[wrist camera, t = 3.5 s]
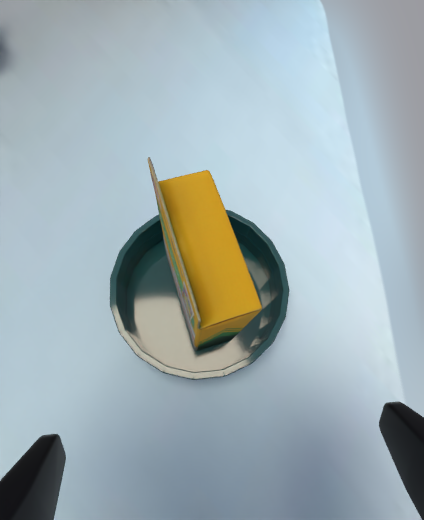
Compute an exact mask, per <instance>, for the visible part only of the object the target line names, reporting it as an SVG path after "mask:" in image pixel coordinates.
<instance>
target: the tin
mask: <svg viewBox="0 0 424 520" xmlns="http://www.w3.org/2000/svg"><path fill="white" fill-rule="evenodd" d="M225 211H226V213H227V216H228V218H229V221H230V224H231V226H232V229H233V232H234V234H235V237H236V239H237V242H238V245H239V247H240V250H241V253H242V255H243V258H244V260H245V263H246V266H247V268H248V271H249V274H250V276H251V279H252V281H253V284H254V287H255V289H256V292H257V295H258V298H259V300H260V303H261V306H262V310H261V311H260V312H259V313H258V314H257V315H256V316H255V317H254V318H253V319H252V320H251V321H250V322H249V323H248V324H247V325H246V326H245V327H244V328H243V329H242V330H241V331H240V332H239V333H238V334H237V335H236V336H235V337H234V338H233V339H232V340H229V341H226V342H223V343H220V344H217V345H214V346H211V347H208V348H205V349H201V350H194V348H193V344H192V341H191V338H190V334H189V331H188V328H187V324H186V321H185V318H184V314H183V311H182V307H181V304H180V300H179V297H178V293H177V290H176V286H175V283H174V280H173V276H172V273H171V269H170V266H169V263H168V259H167V254H166V249H165V244H164V238H163V231H162V225H161V221H160V216H159V215H157V216H155V217H154V218H152V219H151V220H150V221H148V222H147V223H145V224H144V225H143V226H141V227H140V228H139V229H137V230H136V231H135V232H134V233H133V235H132V236H131V237H130V239H129V240H128V241H127V242H126V244H125V245H124V246H123V248H122V249H121V250H120V252H119V254H118V257H117V260H116V263H115V266H114V268H113V271H112V274H111V278H110V307H111V310H112V313H113V316H114V319H115V322H116V325H117V328H118V331H119V333H120V335H121V336H122V337H123V338H124V340H125V341H126V342H127V344H128V345H129V346H130V347H131V349H132V350H133V351H134V352H135V354H136V355H137V356H138V357H139V358H141V359H142V360H144V361H146V362H147V363H149V364H150V365H152V366H153V367H155V368H157V369H158V370H160V371H161V372H164V373H166V374H171V375H175V376H179V377H184V378H188V379H192V380H197V379H206V378H215V377H224V376H227V375H229V374H231V373H233V372H235V371H237V370H239V369H241V368H244V367H246V366H248V365H250V364H252V363H253V362H254V361H255V360H256V359H257V358H258V357H259V356H260V355H261V354H262V353H263V352H264V351H265V350H266V349H267V348H268V347H269V346H270V345H271V344H272V343H273V342H274V340H275V338H276V336H277V334H278V332H279V330H280V328H281V326H282V324H283V322H284V320H285V317H286V311H287V304H288V296H289V286H288V281H287V276H286V270H285V265H284V263H283V261H282V259H281V257H280V255H279V253H278V251H277V250H276V248H275V246H274V244H273V242H272V241H271V240H270V239H269V238H268V237H267V236H266V235H265V234H264V233H263V232H262V231H261V230H260V229H259V228H258V227H257V226H256V225H255V224H254V223H253V222H251V221H249V220H247V219H245V218H243V217H241V216H240V215H238V214H236V213H234V212H232V211H229V210H225Z"/></svg>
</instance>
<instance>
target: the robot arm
mask: <svg viewBox="0 0 424 520" xmlns="http://www.w3.org/2000/svg"><path fill="white" fill-rule="evenodd" d="M379 427H380V431H381V433H382V436H383V438H384V440H385V442H386V445H387V447H388V449H389V452H390V454H391V456H392V459H393V461H394V463H395V466H396V468H397V470H398V472H399V475H400V477H401V479H402V481H403V484H404V486H405V488H406V490H407V492H408V494H409V496H410V498H411V500H412V502H413V503H414V505H415V507H416V509H417V511H418V513H419V515H420V516H421V518H422V520H424V417H422V416H421V415H419V414H418V413H416V412H415V411H413V410H412V409H410V408H409V407H408V406H406V405H405V404H403V403H401V402H389V403H386V404H385V405H384V407H383V411H382V414H381V417H380V421H379ZM65 460H66V455H65V451H64V448H63V445H62V442H61V439H60V436H59V435H58V434H50V435H43V436H41V437H40V438H39V439H38V440H37V441H36V442H35V443H34V444H33V445H32V446H31V447H30V449H29V450H28V451H27V452H26V453H25V454H24V455H23V456H22V457H21V458H20V460H19V461H18V462H17V463H16V464H15V465H14V466H13V467H12V468H11V470H10V471H9V472H8V473H7V474H6V475H5V476H4V477H3V478H2V479H1V481H0V520H54V515H55V510H56V506H57V501H58V496H59V491H60V486H61V481H62V476H63V471H64V466H65Z"/></svg>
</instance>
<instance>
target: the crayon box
mask: <svg viewBox="0 0 424 520" xmlns="http://www.w3.org/2000/svg"><path fill="white" fill-rule="evenodd" d="M148 163H149V168H150V173H151V177H152V182H153V185H154V189H155V194H156V199H157V205H158V210H159V216H160V221H161V225H162V231H163V238H164V244H165V249H166V254H167V259H168V263H169V266H170V269H171V273H172V276H173V280H174V283H175V286H176V290H177V293H178V297H179V300H180V304H181V307H182V311H183V314H184V318H185V321H186V324H187V328H188V331H189V334H190V338H191V341H192V344H193V348H194V350H201V349H205V348H208V347H211V346H214V345H217V344H220V343H223V342H226V341H229V340H232V339H233V338H234V337H235V336H236V335H237V334H238V333H239V332H240V331H241V330H242V329H243V328H244V327H245V326H246V325H247V324H248V323H249V322H250V321H251V320H252V319H253V318H254V317H255V316H256V315H257V314H258V313H259V312H260V311H261V310H262V306H261V303H260V300H259V298H258V295H257V292H256V289H255V287H254V284H253V281H252V279H251V276H250V274H249V271H248V268H247V266H246V263H245V260H244V258H243V255H242V253H241V250H240V247H239V245H238V242H237V239H236V237H235V234H234V232H233V229H232V226H231V224H230V221H229V218H228V216H227V213H226V211H225V208H224V205H223V203H222V200H221V198H220V195H219V193H218V190H217V188H216V185H215V183H214V180H213V178H212V175H211V174H210V172H209V171H208V170H206V171H202V172H197V173H193V174H188V175H184V176H180V177H175V178H172V179H168V180H164V181H159V182H158V180H157V177H156V174H155V170H154V167H153V164H152V162H151V159H150V157H148Z"/></svg>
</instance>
